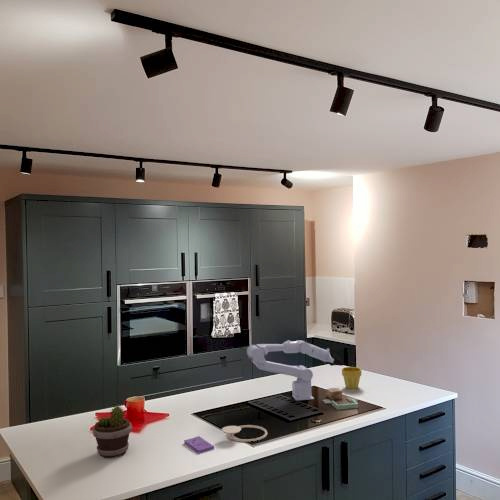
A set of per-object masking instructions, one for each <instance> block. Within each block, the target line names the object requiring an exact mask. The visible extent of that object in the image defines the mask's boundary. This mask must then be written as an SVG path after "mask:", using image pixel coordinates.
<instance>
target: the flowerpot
mask: <svg viewBox="0 0 500 500" xmlns="http://www.w3.org/2000/svg"><path fill="white" fill-rule="evenodd" d="M108 413H109V415H106V414H104V415H103V414H102V417H100V418H99V419H98V421H97V422H95V424H94V426H93V428H92V436H93V437H94V438H95V440H96V443H97V446H96V451H97V453H98V455H100V457H102V458H103V457H104V459H107V458H108V459H113V458H119V457H121V456H124V455H125V454H126V453H127V451H128V450H129V446H130V443H129V438H130V433H131V432H132V431H133V426H132V423H131V422H130V421H129V419H127V418H126V417H125V414H126V412H125V410H124V408H123V407H122V406H121V405H120V404H119V403H117V404H116V405H114V406H113V408H111V410H110V411H109V412H108Z"/></svg>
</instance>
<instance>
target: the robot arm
mask: <svg viewBox="0 0 500 500" xmlns="http://www.w3.org/2000/svg"><path fill="white" fill-rule="evenodd" d="M282 351H283V353H285V354H298V353H301V354H304V355H305V354H306V355H308V356H309V357H312V358H315V359H317V360H320V361H322V362H324V363H326V362H327V363H328V365H329V366H332V367H333V366H339V367H340V366H341V367H342V366H344V363H345V362H344V360H342V359H340V358H339V357H338V356H337V355H335V354H333V353H332V352H331V351H330V348H329V347H327V348H326V349H325V348H321V347H319V346H316V345H314V344H311V343H309V342H306V341H305V340H300V339H299V340H298V339H297V340H296V341H295V340H294V341H293V340H292V341H291V340H289V339H287V340H286V341H284V342H282V343H281V344H280V343H257V344H250V345H249V346H247V348H246V354H247V357H248V359H249V360H250V361H251V362H252V363H253V364H254V365H255V367H256V368H257V369H259V370H261V371H265V372H270V373H276V374H280V375H285V376H290V377H295V378H296V380H294V381H292V383H291V387H292V389H291V390H292V395H291V396H292V397H293V399H294V400H295V401H306V400H307V401H308V400H309V401H310V400H315V397H313V396H312V379H313V377H314V373H313V371H312V370H311V369H310V368H307V367H306V366H305V365H301V364H300V365H289V364H283V363H278V362H273V361H268V360H266V358H265V356H267V355H268V354H269V352H270V353H271V352H282Z"/></svg>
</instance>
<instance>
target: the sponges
mask: <svg viewBox="0 0 500 500" xmlns="http://www.w3.org/2000/svg"><path fill="white" fill-rule="evenodd" d="M183 441H184V445H186V446H188V447H189V448H190V449H192V450H193V451H195V452H196V453H197V454H202V453H206V452H208V451H212V450H214V449H215V445H213V444H211V443H210V442H209V441H207V440H205V438H202V437H201V436H200V435H198V436H194V437H192V438H188V439H185V440H183Z"/></svg>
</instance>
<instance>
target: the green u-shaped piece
mask: <svg viewBox="0 0 500 500" xmlns="http://www.w3.org/2000/svg"><path fill="white" fill-rule="evenodd" d="M346 400H347V401H349V402H350V403H343V404H338V403H337V402H335V401H334V399H330V398H328V399H322V400H321V402H322V403H323V404H324V405H325V406H326V405H331V406H333V408H335V410H337V411H338V410H347V409H349V410H350V409H358V408H359V403H358V400H357V399H356V398H354V397H353V396H352V397H346Z"/></svg>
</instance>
